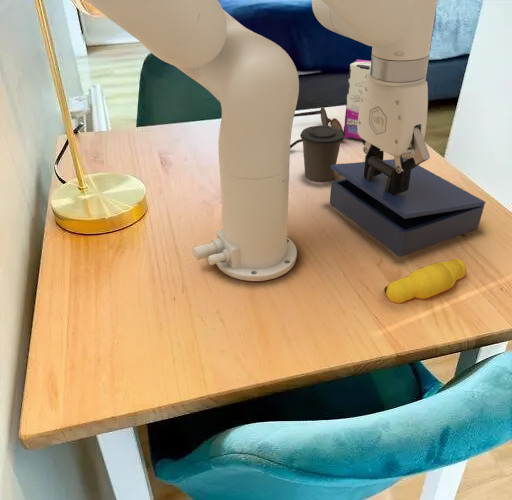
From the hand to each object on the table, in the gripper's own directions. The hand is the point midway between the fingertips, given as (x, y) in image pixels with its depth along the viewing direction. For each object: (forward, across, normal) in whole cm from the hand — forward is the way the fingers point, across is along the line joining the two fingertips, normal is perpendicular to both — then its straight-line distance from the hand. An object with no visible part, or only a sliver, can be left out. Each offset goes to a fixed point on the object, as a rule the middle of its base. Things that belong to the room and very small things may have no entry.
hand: (385, 182), depth 80 cm
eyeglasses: (+8, -38, +8) cm, 40 cm away
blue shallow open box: (+8, 0, +4) cm, 9 cm away
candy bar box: (+9, -30, +21) cm, 38 cm away
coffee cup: (+8, -19, 0) cm, 21 cm away
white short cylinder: (+9, -19, +17) cm, 27 cm away
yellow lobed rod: (+8, +17, -5) cm, 19 cm away
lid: (+2, 0, +4) cm, 5 cm away
